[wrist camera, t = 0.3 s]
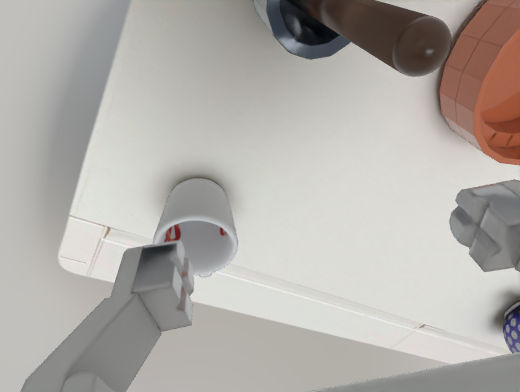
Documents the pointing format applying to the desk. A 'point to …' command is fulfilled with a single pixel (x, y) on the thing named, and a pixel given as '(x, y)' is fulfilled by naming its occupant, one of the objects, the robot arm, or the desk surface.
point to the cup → (200, 225)
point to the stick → (386, 32)
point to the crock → (299, 30)
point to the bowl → (486, 82)
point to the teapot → (512, 328)
